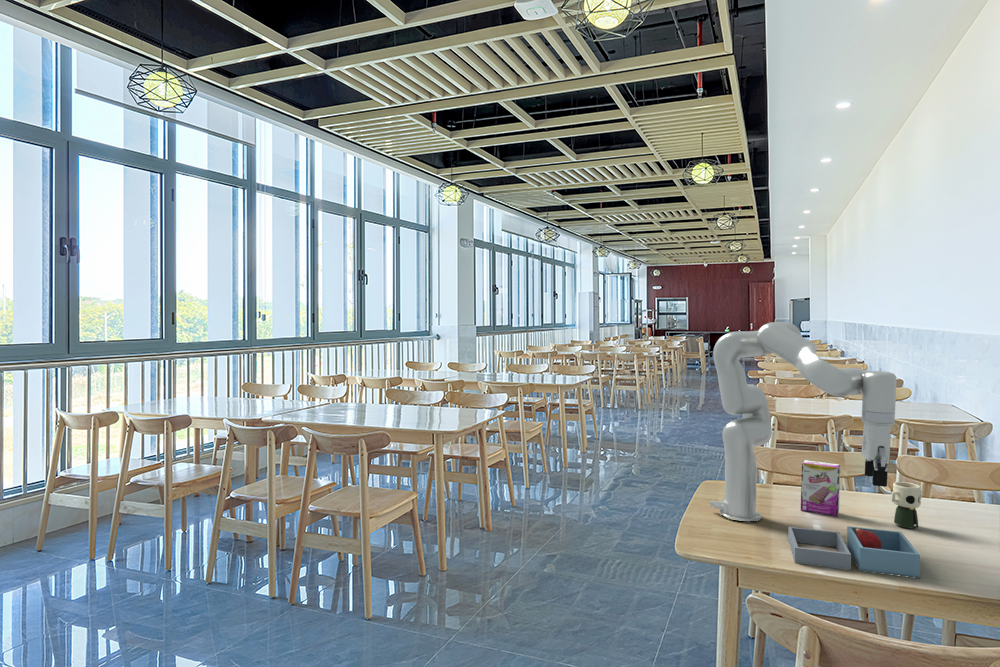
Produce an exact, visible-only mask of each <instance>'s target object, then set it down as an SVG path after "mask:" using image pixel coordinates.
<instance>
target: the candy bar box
mask: <svg viewBox="0 0 1000 667" xmlns="http://www.w3.org/2000/svg"><path fill="white" fill-rule="evenodd" d="M840 484H841V464H838V463H830V462H824V461H823V462H822V461H817V460H808V459H803V461H802V462H801V484H800V485H801V486H800V488H801V489H800V491H801V492H800V511H802V512H808V513H812V514H813V513H814V514H819V515H827V516H832V517H839V513H840V490H841V488H840V487H841V486H840Z"/></svg>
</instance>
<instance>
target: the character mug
mask: <svg viewBox="0 0 1000 667" xmlns="http://www.w3.org/2000/svg"><path fill="white" fill-rule="evenodd" d="M922 491H923V490H922V487H921V486H920V485H919V484H916V483H912V482H906V481H895V482H893V485H892V491H891V498H890V499H891V502H893V504H894V505H896V508H895V512H894V520H893V523H894V524H896V525H898V526H900V527H901V528H907V529H915V528H916V529H918V528H919V518H918V511H917V508H920V506H921V505H922V501H921V500H922V499H923V498H922V496H923V492H922ZM914 527H915V528H914Z"/></svg>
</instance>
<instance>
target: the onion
mask: <svg viewBox="0 0 1000 667" xmlns="http://www.w3.org/2000/svg"><path fill="white" fill-rule="evenodd" d="M856 531H857V535H856V536H857V538H858V540H859V541H860V543H861V545H862V546H863V547H866V548H874V549H881V541H880V539H879V537H878V536H877V535H875V534H874V533H872V532H870V531H866V530H861V529H859V528H857V529H856Z"/></svg>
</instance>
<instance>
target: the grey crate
mask: <svg viewBox="0 0 1000 667" xmlns="http://www.w3.org/2000/svg"><path fill="white" fill-rule="evenodd" d="M787 530H788V535H787V537H788V538H787V539H788V540H787V541H788V544H790V545H789V547H791V548H790V551H792V552H791V554H793V555H792V558H793V561H794V563H796V564H800V565H801V564H802V565H808V566H809V565H811V566H816V565H819V566H818V567H824V566H825V567H826V568H834V569H841V570H842V569H843V570H848V571H851V570H852V556H851V553H850V552H849V550H848V548H847V543H846V542H845V541H844V539H843V537H842V535H841V534H840V532H839V531H831V530H821V529H812V528H804V527H802V528H801V527H796V526H788V529H787ZM799 542H800V544H810V545H818V546H827V547H833V548H836V550H837V551H832V550H826V549H825V550H824V549H819V548H810V547H801V546H800V547H799V545H798V543H799ZM825 567H824V568H825Z"/></svg>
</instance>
